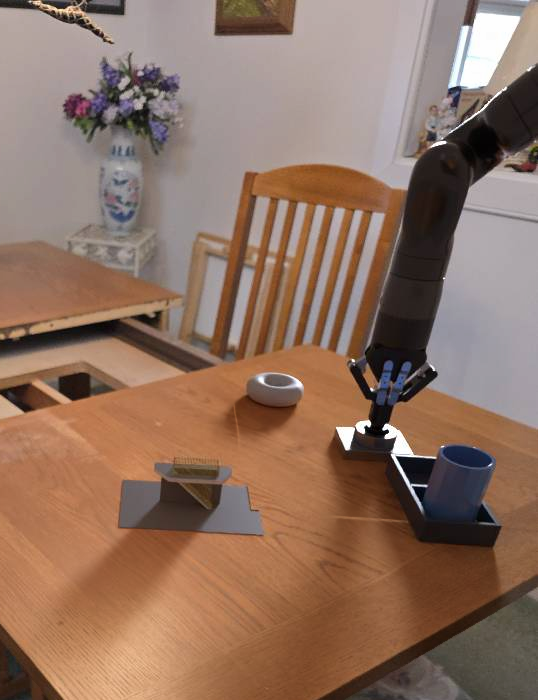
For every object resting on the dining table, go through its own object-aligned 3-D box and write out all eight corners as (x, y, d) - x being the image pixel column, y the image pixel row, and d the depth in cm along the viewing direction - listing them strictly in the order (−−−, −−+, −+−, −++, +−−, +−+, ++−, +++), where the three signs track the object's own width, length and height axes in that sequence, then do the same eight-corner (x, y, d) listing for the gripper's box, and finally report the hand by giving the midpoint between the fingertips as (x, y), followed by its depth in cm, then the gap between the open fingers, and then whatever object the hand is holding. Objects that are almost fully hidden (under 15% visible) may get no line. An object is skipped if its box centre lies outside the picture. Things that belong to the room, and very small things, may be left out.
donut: (249, 384, 128) (240, 404, 120) (252, 366, 126) (243, 384, 118) (304, 393, 126) (299, 413, 118) (308, 374, 124) (302, 394, 116)
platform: (264, 534, 87) (272, 488, 83) (118, 526, 87) (120, 480, 83) (253, 486, 97) (260, 443, 93) (122, 479, 97) (124, 436, 93)
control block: (397, 440, 111) (403, 420, 109) (410, 464, 104) (417, 443, 102) (333, 436, 111) (338, 416, 109) (343, 460, 105) (348, 439, 103)
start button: (382, 432, 108) (385, 421, 107) (387, 441, 105) (390, 430, 104) (361, 430, 108) (364, 420, 107) (366, 440, 105) (369, 429, 104)
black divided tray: (448, 477, 102) (455, 457, 100) (493, 547, 87) (502, 526, 85) (384, 472, 102) (390, 453, 100) (418, 541, 87) (425, 520, 86)
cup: (462, 507, 93) (484, 445, 88) (480, 534, 88) (504, 471, 83) (412, 503, 93) (431, 442, 88) (426, 530, 88) (448, 467, 83)
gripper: (364, 313, 93) (337, 433, 103) (465, 320, 92) (428, 439, 102) (353, 298, 99) (328, 412, 109) (448, 304, 99) (414, 418, 108)
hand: (377, 425), depth 105 cm, fingers closed
